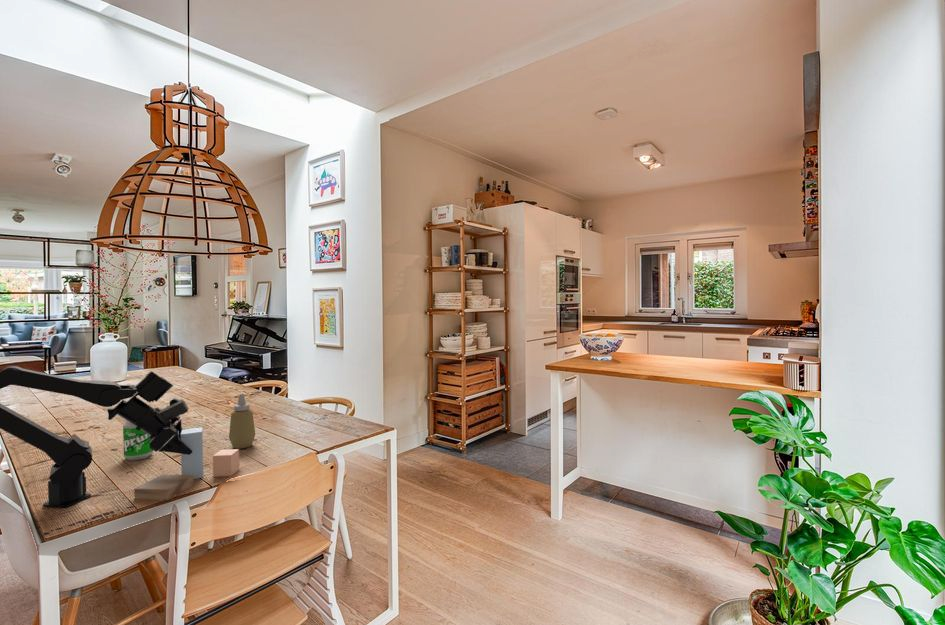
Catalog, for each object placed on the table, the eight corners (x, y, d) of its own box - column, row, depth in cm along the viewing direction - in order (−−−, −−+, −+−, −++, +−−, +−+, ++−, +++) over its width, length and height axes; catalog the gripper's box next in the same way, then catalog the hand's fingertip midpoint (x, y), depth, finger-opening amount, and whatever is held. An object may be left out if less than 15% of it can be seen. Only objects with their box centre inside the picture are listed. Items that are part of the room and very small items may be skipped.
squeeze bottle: (231, 444, 150) (230, 392, 150) (256, 441, 153) (256, 390, 153) (227, 451, 143) (226, 397, 142) (254, 448, 146) (253, 395, 145)
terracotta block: (231, 475, 123) (231, 455, 123) (213, 476, 123) (212, 455, 122) (239, 469, 128) (238, 449, 128) (221, 469, 127) (221, 449, 127)
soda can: (122, 457, 138) (121, 419, 138) (151, 451, 143) (150, 415, 143) (125, 463, 133) (124, 424, 132) (155, 457, 138) (154, 419, 137)
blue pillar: (181, 481, 119) (180, 434, 119) (182, 474, 124) (181, 429, 123) (202, 477, 122) (202, 431, 122) (203, 471, 126) (202, 427, 126)
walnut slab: (167, 501, 108) (167, 489, 108) (134, 500, 109) (134, 488, 109) (194, 486, 117) (193, 475, 117) (163, 485, 118) (162, 474, 118)
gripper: (163, 398, 111) (214, 433, 117) (170, 386, 127) (214, 417, 133) (126, 434, 108) (180, 468, 114) (137, 416, 124) (185, 447, 130)
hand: (192, 448), depth 123 cm, fingers open, 9 cm apart
